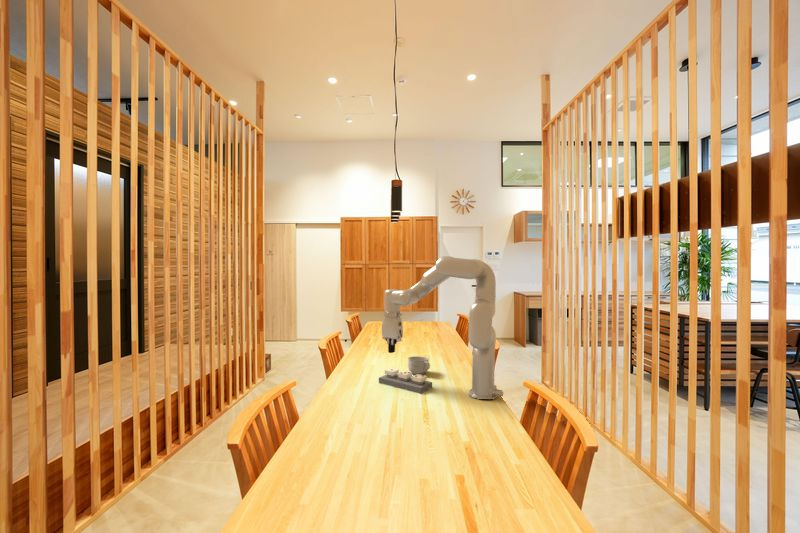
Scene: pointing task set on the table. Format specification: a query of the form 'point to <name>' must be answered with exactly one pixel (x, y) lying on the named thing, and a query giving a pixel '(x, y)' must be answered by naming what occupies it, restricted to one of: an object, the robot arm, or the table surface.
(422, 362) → the teacup
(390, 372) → the button one
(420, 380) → the button two
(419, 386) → the button panel
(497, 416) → the table surface
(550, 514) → the table surface
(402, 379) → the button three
